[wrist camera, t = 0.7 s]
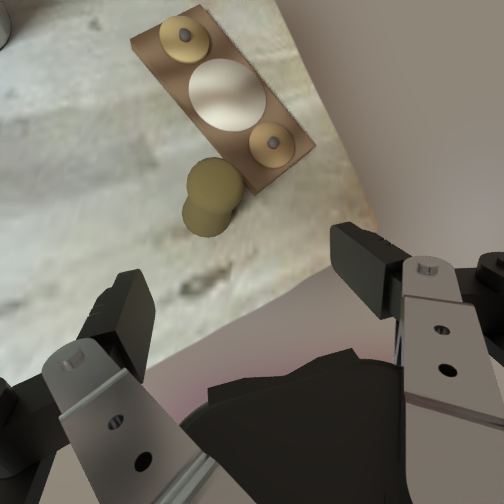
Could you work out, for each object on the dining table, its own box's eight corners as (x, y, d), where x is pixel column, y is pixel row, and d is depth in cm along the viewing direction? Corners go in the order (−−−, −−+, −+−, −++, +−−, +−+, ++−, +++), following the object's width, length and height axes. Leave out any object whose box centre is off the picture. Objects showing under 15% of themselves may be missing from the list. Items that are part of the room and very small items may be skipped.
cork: (182, 238, 33) (182, 213, 22) (181, 189, 34) (180, 143, 23) (232, 237, 34) (254, 213, 24) (229, 190, 35) (249, 148, 25)
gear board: (132, 49, 34) (127, 28, 32) (199, 15, 37) (200, -8, 35) (254, 195, 36) (260, 187, 33) (310, 151, 39) (320, 140, 36)
